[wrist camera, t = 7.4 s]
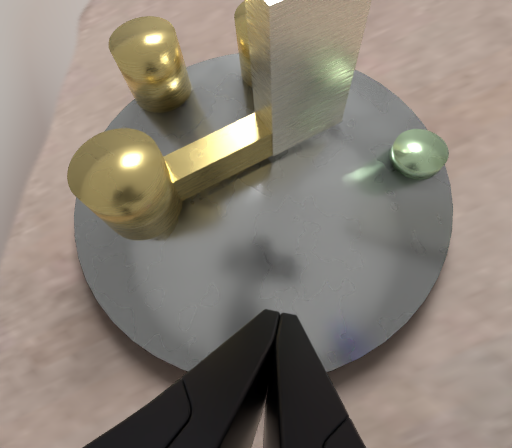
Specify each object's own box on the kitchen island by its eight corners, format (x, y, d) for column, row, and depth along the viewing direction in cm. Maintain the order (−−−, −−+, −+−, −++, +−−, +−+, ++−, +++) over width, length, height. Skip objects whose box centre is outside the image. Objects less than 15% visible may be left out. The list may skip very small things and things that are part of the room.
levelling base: (447, 432, 15) (525, 457, 10) (19, 332, 18) (-71, 316, 13) (440, 80, 24) (480, 6, 19) (152, 53, 27) (125, -17, 22)
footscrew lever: (122, 254, 18) (-7, 153, 10) (97, 194, 20) (-31, 65, 12) (353, 134, 20) (402, -27, 12) (313, 90, 22) (333, -78, 14)
